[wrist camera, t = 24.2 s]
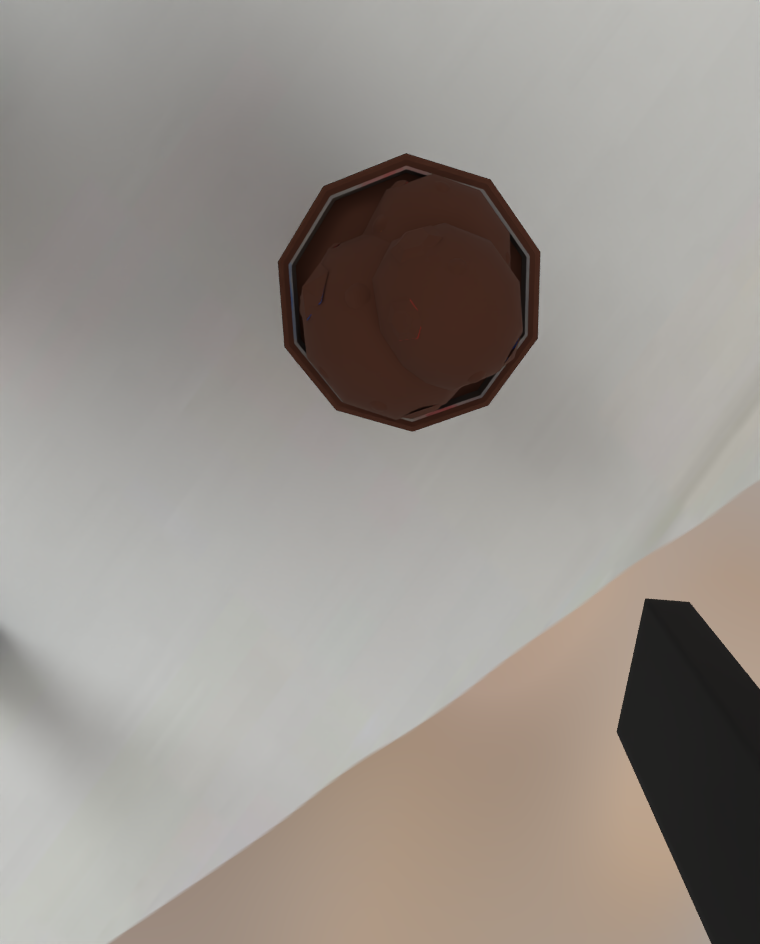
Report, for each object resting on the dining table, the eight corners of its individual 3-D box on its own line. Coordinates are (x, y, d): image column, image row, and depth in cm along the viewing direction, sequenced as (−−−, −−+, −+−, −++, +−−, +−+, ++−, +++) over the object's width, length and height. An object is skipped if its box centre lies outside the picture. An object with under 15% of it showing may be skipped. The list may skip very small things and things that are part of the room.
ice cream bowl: (422, 129, 36) (440, 57, 22) (547, 307, 39) (635, 347, 24) (263, 264, 38) (185, 279, 24) (391, 424, 41) (389, 524, 27)
